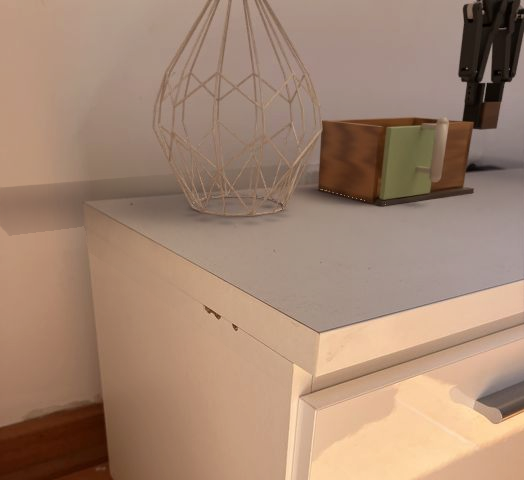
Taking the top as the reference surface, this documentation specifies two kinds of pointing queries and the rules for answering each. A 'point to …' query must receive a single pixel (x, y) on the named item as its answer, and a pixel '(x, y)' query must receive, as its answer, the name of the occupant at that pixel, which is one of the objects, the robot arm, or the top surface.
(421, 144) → the sliding door
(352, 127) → the box
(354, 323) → the top surface
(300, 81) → the table lamp
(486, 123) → the block
